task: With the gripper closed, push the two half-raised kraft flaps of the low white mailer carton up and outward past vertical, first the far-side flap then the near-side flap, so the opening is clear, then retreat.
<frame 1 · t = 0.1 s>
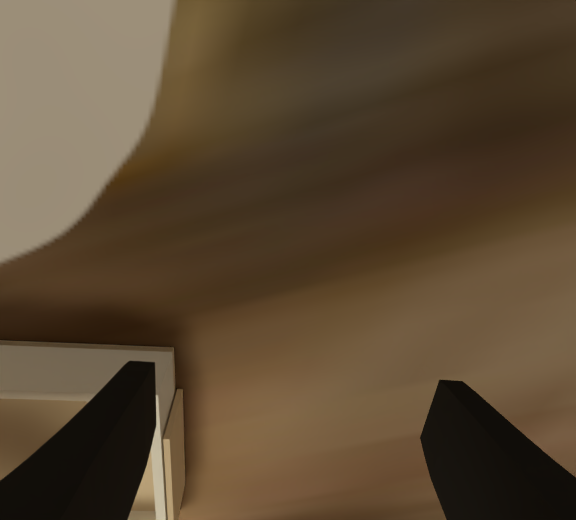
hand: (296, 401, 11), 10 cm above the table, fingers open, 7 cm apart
carton: (62, 434, 24), on the table
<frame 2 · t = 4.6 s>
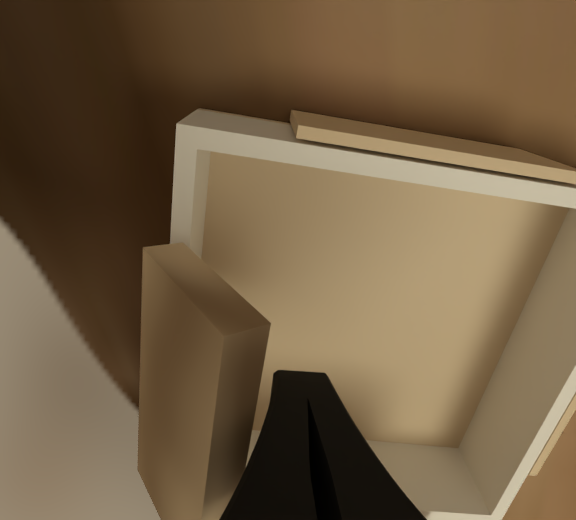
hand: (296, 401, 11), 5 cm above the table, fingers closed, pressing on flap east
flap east: (188, 414, 10), point 6 cm above the table, hinge at 55.0°, touching gripper
carton: (357, 314, 16), on the table
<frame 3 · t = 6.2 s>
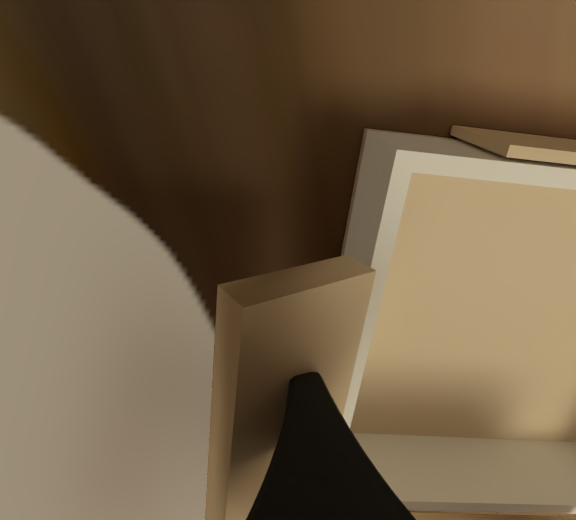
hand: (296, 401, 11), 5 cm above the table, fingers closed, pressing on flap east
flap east: (284, 403, 11), point 5 cm above the table, hinge at 146.1°, touching gripper
carton: (493, 317, 17), on the table
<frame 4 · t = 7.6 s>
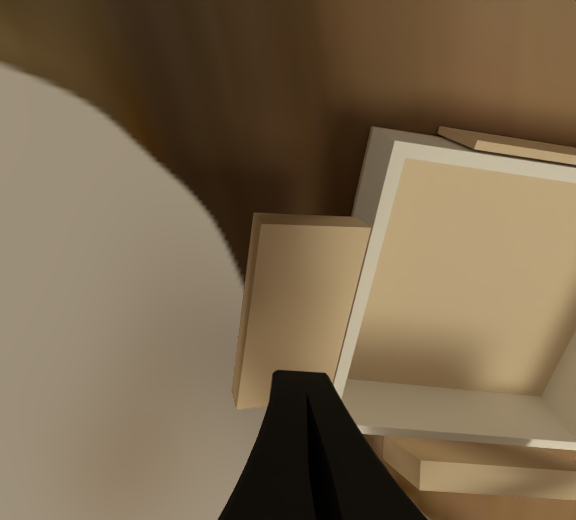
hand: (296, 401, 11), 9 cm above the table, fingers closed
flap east: (295, 316, 15), point 4 cm above the table, hinge at 165.1°
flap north: (487, 465, 17), point 6 cm above the table, hinge at 55.0°
carton: (470, 284, 20), on the table
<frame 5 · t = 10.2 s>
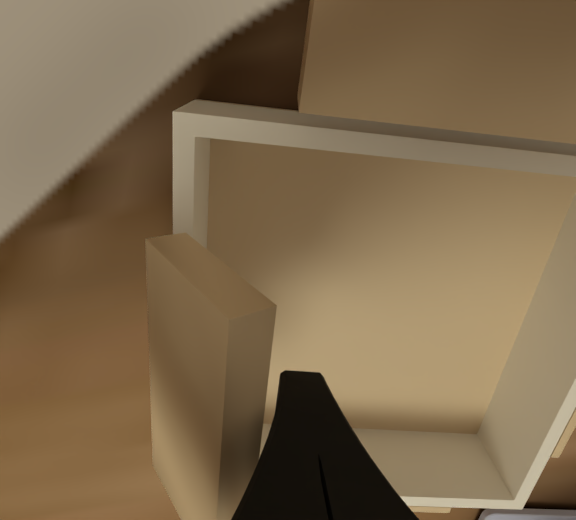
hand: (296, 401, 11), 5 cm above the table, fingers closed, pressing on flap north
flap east: (502, 28, 8), point 4 cm above the table, hinge at 165.4°
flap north: (199, 405, 10), point 6 cm above the table, hinge at 55.0°, touching gripper
carton: (367, 301, 16), on the table
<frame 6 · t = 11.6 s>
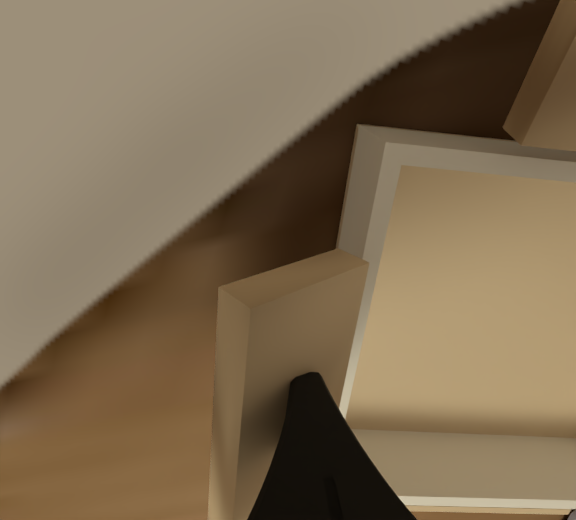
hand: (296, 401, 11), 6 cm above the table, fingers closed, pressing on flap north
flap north: (284, 402, 11), point 5 cm above the table, hinge at 138.7°, touching gripper
carton: (489, 312, 17), on the table
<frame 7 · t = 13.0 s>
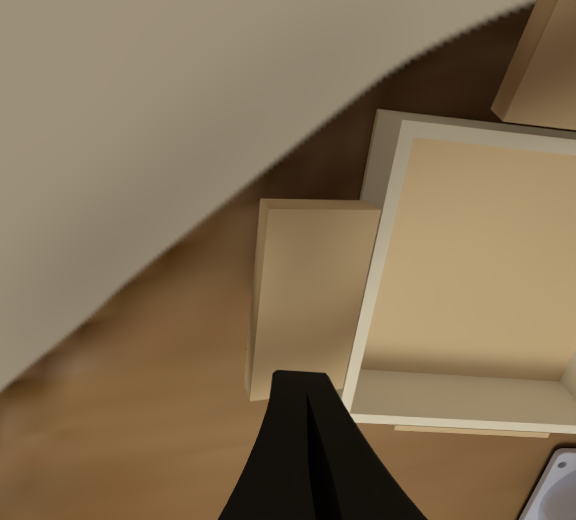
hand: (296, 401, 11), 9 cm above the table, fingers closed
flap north: (306, 304, 15), point 4 cm above the table, hinge at 165.1°
carton: (483, 269, 20), on the table
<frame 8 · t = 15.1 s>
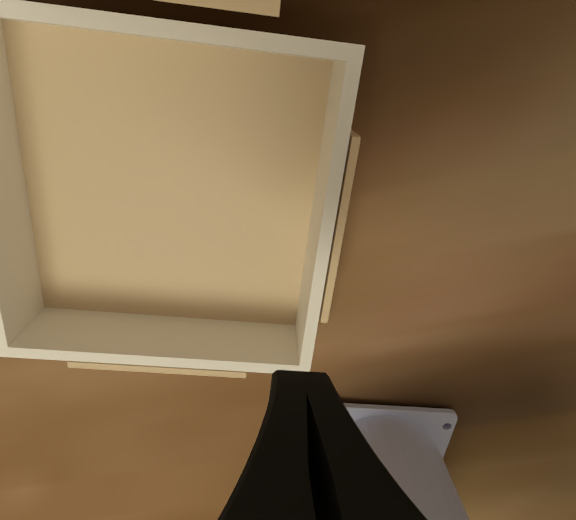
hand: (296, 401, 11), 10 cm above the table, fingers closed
carton: (174, 195, 18), on the table
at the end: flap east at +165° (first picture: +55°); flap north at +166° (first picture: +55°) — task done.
